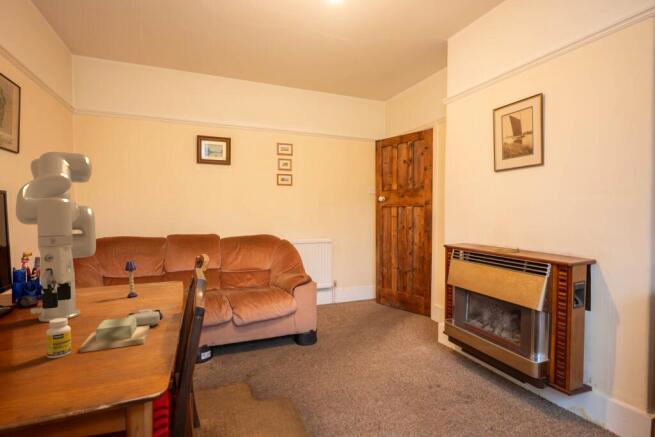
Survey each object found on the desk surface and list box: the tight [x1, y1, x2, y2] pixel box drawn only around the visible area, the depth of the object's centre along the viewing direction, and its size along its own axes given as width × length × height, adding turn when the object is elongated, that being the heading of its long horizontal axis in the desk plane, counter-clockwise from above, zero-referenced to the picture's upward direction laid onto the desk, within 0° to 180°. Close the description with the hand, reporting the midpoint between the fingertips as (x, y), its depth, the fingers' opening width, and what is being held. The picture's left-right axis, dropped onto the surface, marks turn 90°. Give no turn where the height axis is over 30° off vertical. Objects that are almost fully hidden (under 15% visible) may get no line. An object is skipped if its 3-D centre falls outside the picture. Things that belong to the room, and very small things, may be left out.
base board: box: [79, 316, 151, 353], centre depth 105 cm, size 16×13×6 cm
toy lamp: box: [124, 260, 139, 299], centre depth 159 cm, size 5×5×17 cm
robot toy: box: [127, 308, 165, 327], centre depth 120 cm, size 12×4×15 cm
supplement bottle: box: [45, 318, 72, 359], centre depth 95 cm, size 5×5×10 cm
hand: (57, 303), depth 94 cm, fingers open, 9 cm apart
